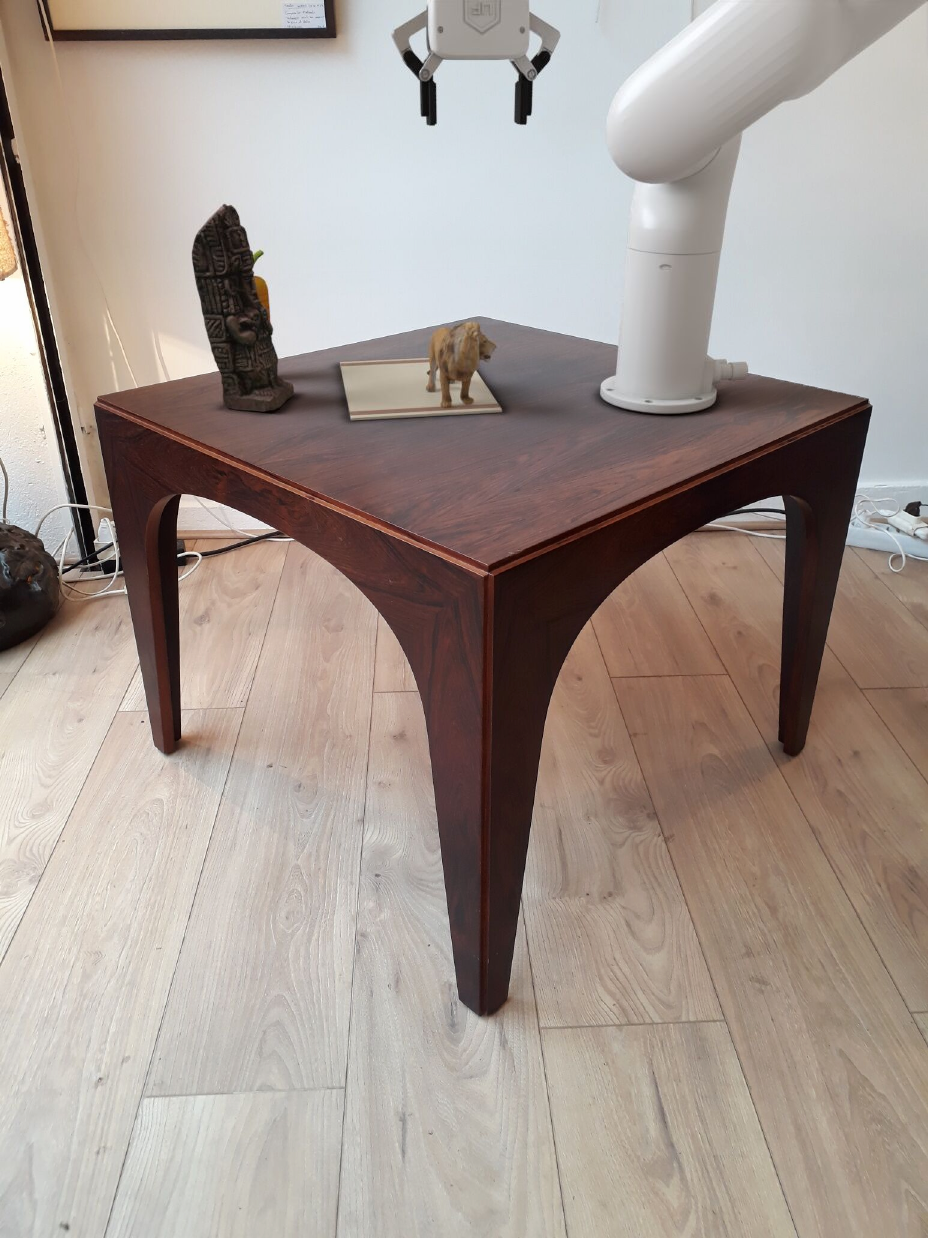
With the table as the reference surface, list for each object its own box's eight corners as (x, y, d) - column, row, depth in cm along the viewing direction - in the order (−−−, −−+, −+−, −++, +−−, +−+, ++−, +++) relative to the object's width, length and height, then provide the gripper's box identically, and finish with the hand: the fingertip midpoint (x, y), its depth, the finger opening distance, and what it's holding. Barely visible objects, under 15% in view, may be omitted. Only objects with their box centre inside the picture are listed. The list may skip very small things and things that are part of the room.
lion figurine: (500, 411, 96) (501, 324, 91) (453, 418, 94) (452, 328, 89) (447, 376, 107) (446, 296, 103) (405, 381, 105) (402, 300, 101)
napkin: (466, 358, 115) (466, 355, 115) (501, 412, 97) (502, 409, 96) (340, 364, 113) (339, 361, 113) (351, 420, 94) (350, 417, 94)
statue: (273, 414, 96) (250, 207, 86) (211, 410, 97) (180, 206, 87) (296, 395, 102) (277, 199, 92) (237, 391, 103) (211, 198, 93)
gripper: (392, -85, 83) (399, 126, 92) (574, -81, 86) (564, 125, 95) (384, -74, 90) (391, 123, 99) (554, -70, 92) (546, 122, 101)
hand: (476, 124), depth 97 cm, fingers open, 9 cm apart
